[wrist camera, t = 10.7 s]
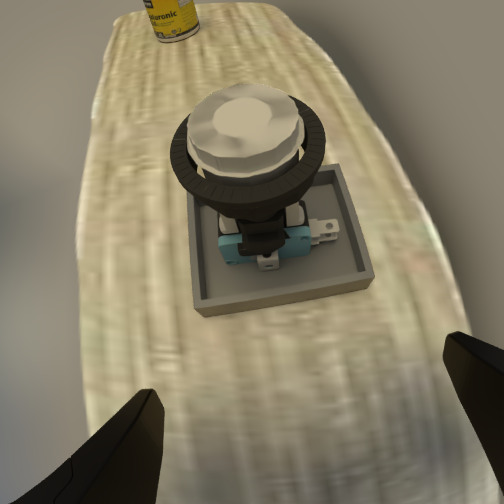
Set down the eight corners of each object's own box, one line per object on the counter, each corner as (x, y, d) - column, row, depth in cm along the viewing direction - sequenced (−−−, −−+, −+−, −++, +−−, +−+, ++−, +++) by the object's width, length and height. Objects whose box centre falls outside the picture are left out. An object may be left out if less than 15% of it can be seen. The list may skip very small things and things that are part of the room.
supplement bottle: (148, 43, 32) (124, -21, 23) (174, 23, 34) (155, -38, 25) (183, 44, 30) (161, -28, 21) (208, 23, 32) (192, -43, 23)
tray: (366, 288, 18) (374, 276, 16) (203, 317, 18) (194, 308, 16) (335, 182, 21) (338, 163, 19) (195, 206, 21) (186, 190, 19)
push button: (327, 199, 20) (343, 62, 10) (343, 282, 17) (390, 168, 8) (219, 212, 20) (168, 84, 11) (222, 296, 18) (153, 197, 9)
